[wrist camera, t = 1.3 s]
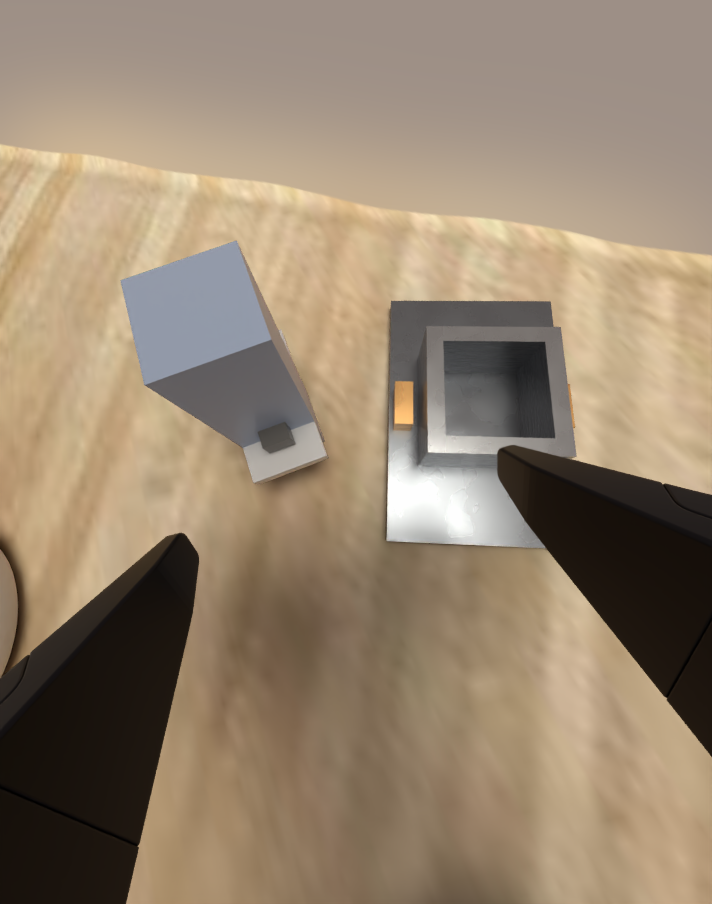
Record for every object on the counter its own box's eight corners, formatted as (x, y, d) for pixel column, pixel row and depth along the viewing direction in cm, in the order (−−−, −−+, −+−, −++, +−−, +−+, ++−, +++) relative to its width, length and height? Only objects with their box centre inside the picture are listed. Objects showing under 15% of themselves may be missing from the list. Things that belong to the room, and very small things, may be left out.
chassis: (569, 548, 21) (629, 554, 16) (386, 540, 22) (390, 543, 17) (543, 310, 25) (584, 258, 20) (390, 309, 26) (394, 258, 21)
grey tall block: (335, 469, 23) (291, 396, 10) (275, 492, 23) (158, 445, 10) (296, 364, 25) (221, 197, 13) (242, 383, 25) (109, 234, 12)
